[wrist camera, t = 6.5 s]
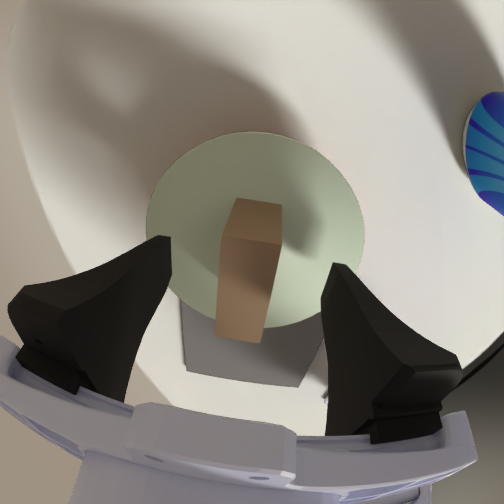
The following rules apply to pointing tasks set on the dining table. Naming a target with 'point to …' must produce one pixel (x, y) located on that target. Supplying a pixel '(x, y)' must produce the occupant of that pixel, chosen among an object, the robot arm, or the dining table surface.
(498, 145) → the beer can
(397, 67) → the dining table surface
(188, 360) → the mat
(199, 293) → the lid
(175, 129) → the dining table surface
